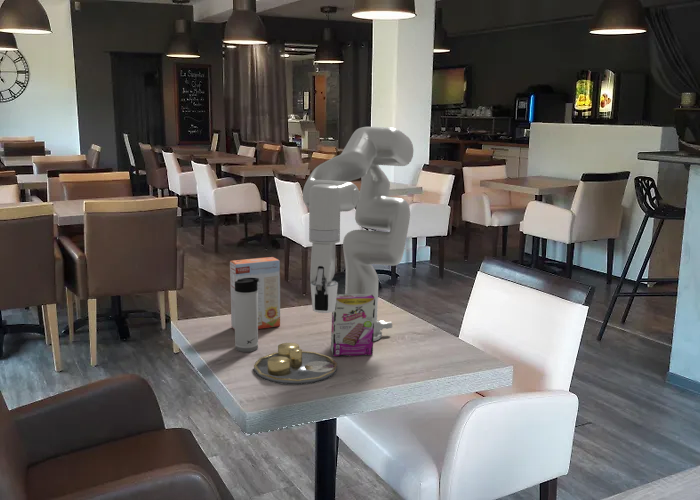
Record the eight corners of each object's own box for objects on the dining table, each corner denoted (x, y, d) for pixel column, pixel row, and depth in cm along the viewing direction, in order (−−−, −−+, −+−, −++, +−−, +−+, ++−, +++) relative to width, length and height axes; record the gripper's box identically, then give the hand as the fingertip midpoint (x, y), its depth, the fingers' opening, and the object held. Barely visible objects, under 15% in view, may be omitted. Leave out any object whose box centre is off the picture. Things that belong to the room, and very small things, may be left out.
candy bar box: (333, 357, 186) (334, 298, 183) (330, 351, 191) (331, 293, 188) (373, 355, 188) (375, 297, 185) (370, 349, 193) (372, 292, 190)
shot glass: (305, 311, 172) (305, 283, 170) (317, 304, 178) (318, 278, 176) (330, 315, 169) (330, 287, 168) (342, 308, 175) (342, 281, 174)
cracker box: (273, 321, 217) (273, 256, 212) (280, 327, 211) (280, 259, 207) (230, 327, 210) (229, 259, 206) (236, 332, 205) (235, 263, 201)
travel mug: (254, 353, 188) (254, 281, 184) (231, 351, 189) (230, 279, 185) (262, 345, 194) (262, 276, 190) (239, 343, 195) (239, 274, 192)
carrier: (320, 351, 191) (320, 333, 190) (349, 378, 172) (349, 359, 171) (245, 359, 183) (245, 341, 182) (266, 389, 164) (266, 369, 163)
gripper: (315, 228, 178) (314, 295, 182) (302, 241, 162) (302, 315, 165) (344, 229, 177) (343, 297, 181) (334, 242, 161) (333, 317, 164)
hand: (323, 305), depth 173 cm, fingers closed on shot glass, 6 cm apart
